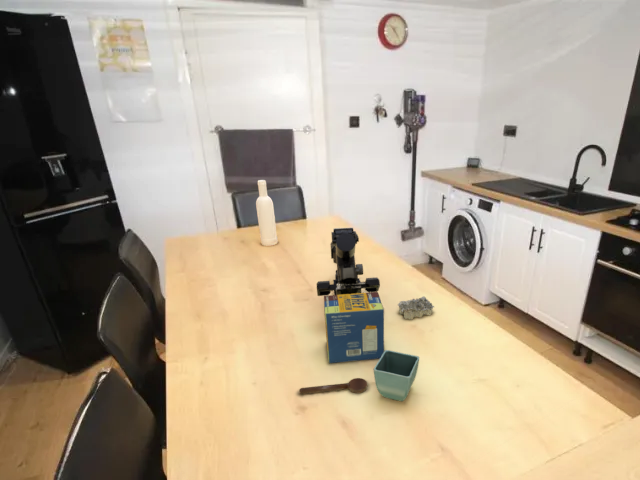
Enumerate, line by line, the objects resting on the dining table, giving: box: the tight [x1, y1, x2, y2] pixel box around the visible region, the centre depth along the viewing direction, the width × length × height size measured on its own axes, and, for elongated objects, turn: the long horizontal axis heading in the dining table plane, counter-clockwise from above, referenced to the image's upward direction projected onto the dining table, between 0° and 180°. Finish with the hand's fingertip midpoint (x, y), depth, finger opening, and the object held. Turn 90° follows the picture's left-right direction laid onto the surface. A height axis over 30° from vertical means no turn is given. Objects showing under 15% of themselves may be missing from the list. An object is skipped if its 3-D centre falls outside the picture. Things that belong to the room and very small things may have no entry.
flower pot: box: [373, 349, 420, 402], centre depth 97 cm, size 9×9×9 cm
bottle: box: [255, 179, 279, 247], centre depth 192 cm, size 8×8×30 cm
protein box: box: [323, 291, 385, 364], centre depth 112 cm, size 10×15×16 cm
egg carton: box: [397, 296, 435, 320], centre depth 134 cm, size 11×8×4 cm
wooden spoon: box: [298, 377, 368, 395], centre depth 100 cm, size 16×5×1 cm, turn 100°
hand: (350, 313), depth 120 cm, fingers closed
